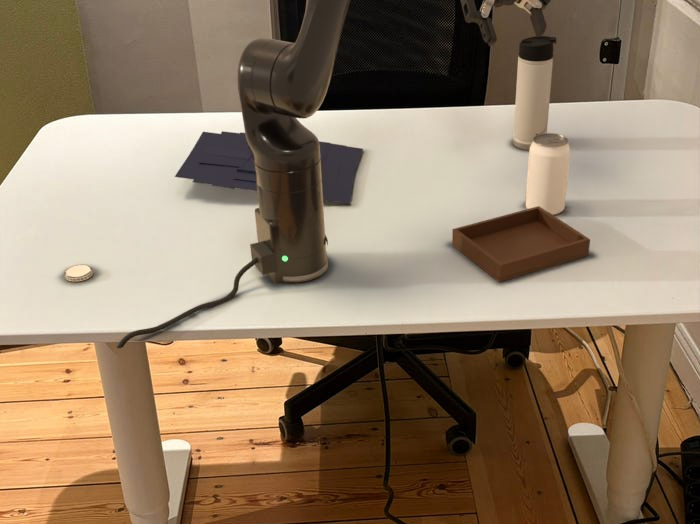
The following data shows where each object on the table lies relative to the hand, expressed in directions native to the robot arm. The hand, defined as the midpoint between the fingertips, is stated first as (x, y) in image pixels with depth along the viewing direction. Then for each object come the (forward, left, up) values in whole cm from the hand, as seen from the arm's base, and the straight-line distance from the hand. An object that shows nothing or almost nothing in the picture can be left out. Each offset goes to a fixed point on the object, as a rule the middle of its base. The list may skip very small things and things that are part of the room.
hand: (517, 38), depth 148 cm
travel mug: (+14, +13, -25) cm, 32 cm away
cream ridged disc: (-73, +5, -25) cm, 77 cm away
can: (0, -11, -25) cm, 27 cm away
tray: (-12, -21, -25) cm, 35 cm away
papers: (-34, +24, -25) cm, 49 cm away
